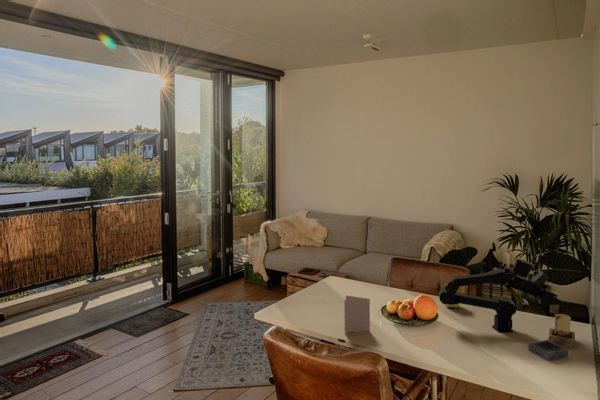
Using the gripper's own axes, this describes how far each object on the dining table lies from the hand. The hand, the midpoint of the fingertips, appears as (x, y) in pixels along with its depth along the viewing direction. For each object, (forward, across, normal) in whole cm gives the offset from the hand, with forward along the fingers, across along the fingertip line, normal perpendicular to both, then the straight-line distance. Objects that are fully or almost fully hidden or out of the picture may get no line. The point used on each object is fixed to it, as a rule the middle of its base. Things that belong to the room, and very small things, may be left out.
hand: (560, 300), depth 186 cm
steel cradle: (-4, -21, +18) cm, 28 cm away
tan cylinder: (+4, -8, +15) cm, 17 cm away
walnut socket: (+4, -8, +15) cm, 17 cm away
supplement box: (-33, +26, +29) cm, 51 cm away
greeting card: (-75, -14, +45) cm, 88 cm away
